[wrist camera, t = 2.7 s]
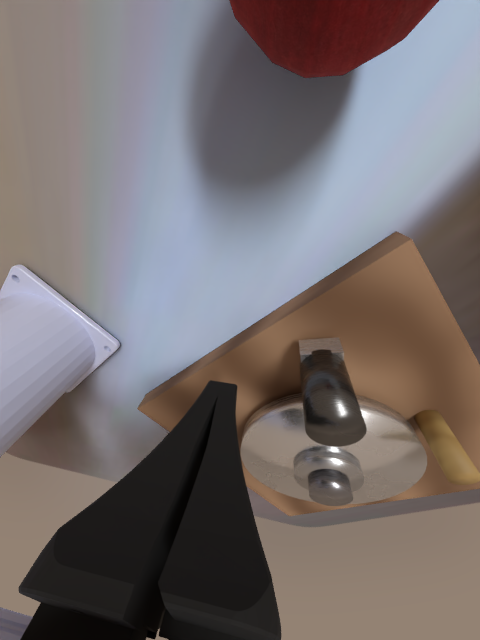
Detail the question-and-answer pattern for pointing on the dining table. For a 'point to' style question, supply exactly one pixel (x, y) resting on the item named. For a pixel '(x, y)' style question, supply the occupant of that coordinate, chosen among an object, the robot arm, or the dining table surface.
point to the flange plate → (373, 449)
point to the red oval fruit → (327, 30)
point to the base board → (357, 365)
